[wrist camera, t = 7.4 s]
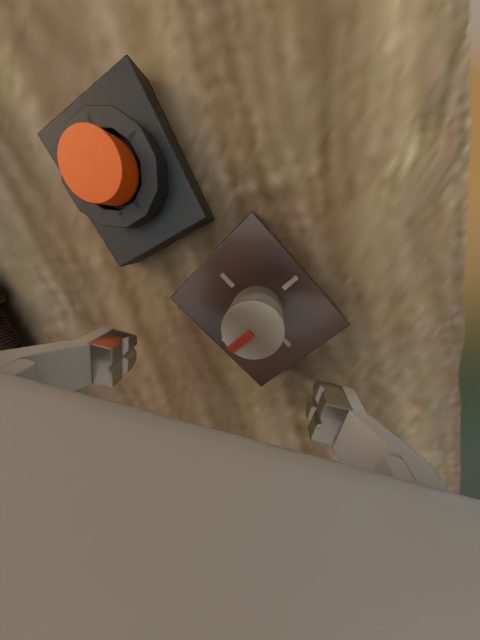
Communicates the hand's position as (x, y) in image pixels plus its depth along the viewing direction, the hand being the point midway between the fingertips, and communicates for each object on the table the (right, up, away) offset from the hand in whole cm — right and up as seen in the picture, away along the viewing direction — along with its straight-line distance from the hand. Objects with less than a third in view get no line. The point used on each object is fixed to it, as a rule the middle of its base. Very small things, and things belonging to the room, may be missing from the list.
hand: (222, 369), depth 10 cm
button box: (-8, +14, +10) cm, 19 cm away
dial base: (+3, +4, +12) cm, 13 cm away
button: (-8, +13, +6) cm, 17 cm away
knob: (+2, +3, +10) cm, 10 cm away
